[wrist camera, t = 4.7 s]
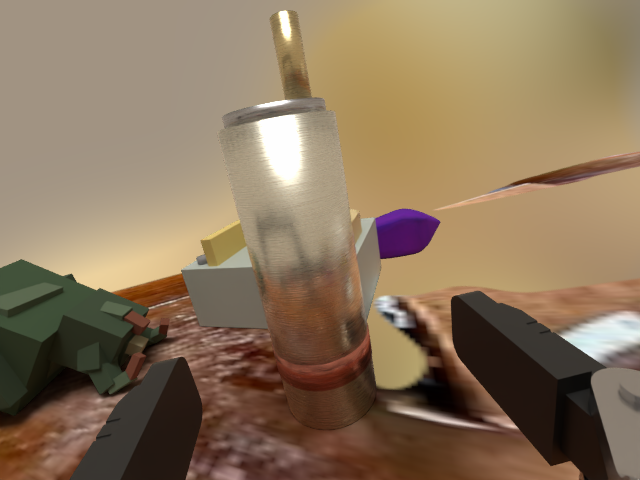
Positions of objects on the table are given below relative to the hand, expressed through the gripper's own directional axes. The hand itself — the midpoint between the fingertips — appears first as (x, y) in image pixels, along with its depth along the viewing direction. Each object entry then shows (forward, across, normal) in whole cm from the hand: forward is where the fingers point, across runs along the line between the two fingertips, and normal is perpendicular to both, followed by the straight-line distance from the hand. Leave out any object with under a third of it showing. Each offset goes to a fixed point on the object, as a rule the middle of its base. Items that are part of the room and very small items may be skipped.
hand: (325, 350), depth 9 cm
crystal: (+28, -10, +9) cm, 31 cm away
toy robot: (+16, +22, +9) cm, 29 cm away
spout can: (+8, 0, +9) cm, 12 cm away
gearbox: (+23, +3, +9) cm, 25 cm away
